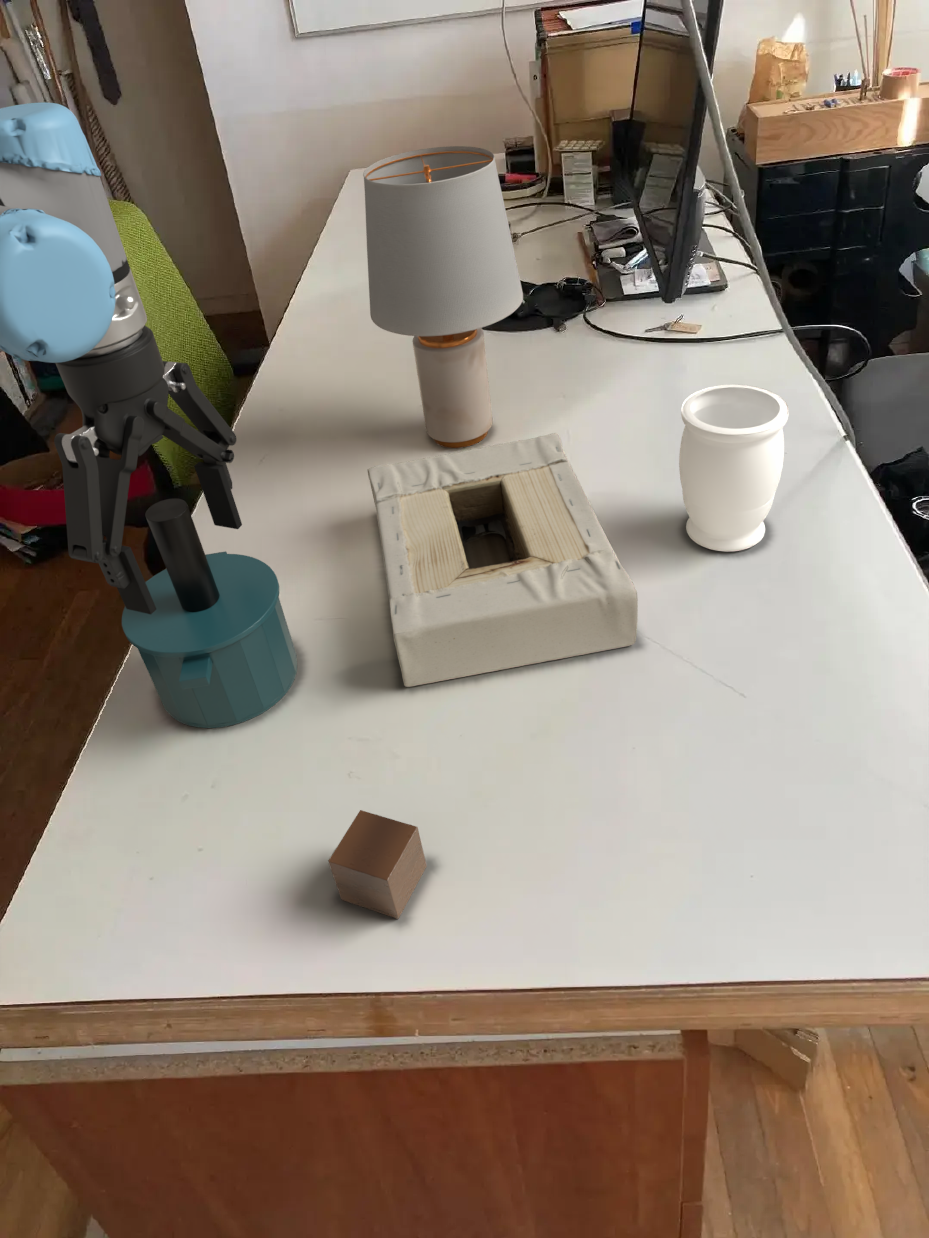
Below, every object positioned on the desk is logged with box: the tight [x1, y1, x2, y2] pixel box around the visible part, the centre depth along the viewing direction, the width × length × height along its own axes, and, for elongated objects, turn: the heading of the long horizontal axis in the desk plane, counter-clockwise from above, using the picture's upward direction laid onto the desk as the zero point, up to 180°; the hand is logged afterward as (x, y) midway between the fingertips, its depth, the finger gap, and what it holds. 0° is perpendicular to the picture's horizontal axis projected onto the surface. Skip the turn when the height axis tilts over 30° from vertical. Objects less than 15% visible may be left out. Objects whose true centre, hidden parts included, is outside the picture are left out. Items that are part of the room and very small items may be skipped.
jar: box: [678, 384, 789, 553], centre depth 97 cm, size 11×10×15 cm
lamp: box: [362, 145, 524, 449], centre depth 115 cm, size 19×19×34 cm
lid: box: [121, 498, 280, 657], centre depth 84 cm, size 15×15×11 cm
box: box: [367, 432, 639, 688], centre depth 99 cm, size 23×8×32 cm
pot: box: [137, 550, 298, 729], centre depth 90 cm, size 14×19×10 cm
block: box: [327, 809, 428, 920], centre depth 71 cm, size 5×5×5 cm
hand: (187, 565), depth 84 cm, fingers open, 12 cm apart
